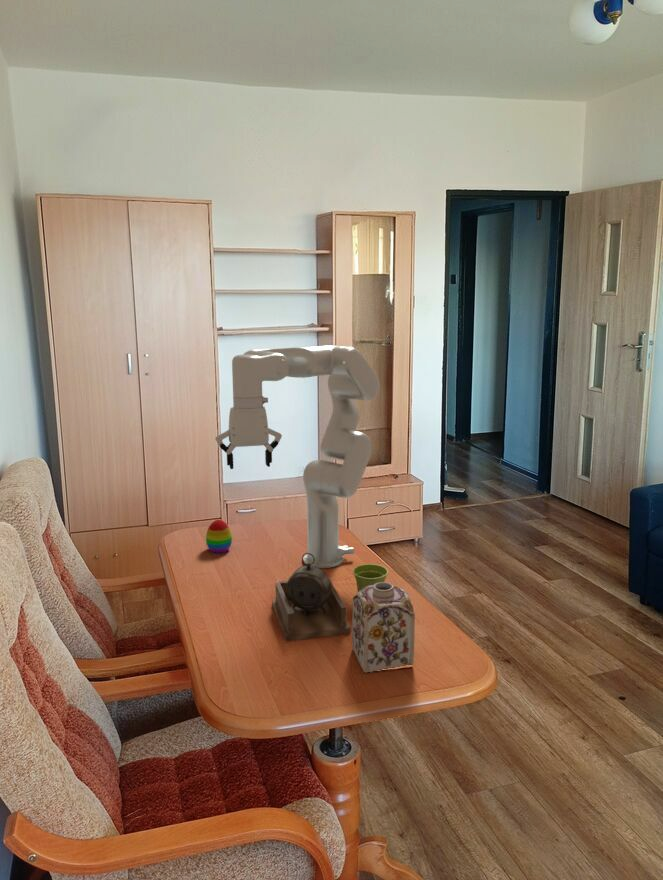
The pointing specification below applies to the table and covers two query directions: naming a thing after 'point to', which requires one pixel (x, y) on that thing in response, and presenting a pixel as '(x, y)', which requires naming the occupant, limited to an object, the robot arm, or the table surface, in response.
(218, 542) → the decorative egg
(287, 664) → the table surface
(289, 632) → the wooden tray
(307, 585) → the alarm clock
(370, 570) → the plant pot
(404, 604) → the decorative jar
